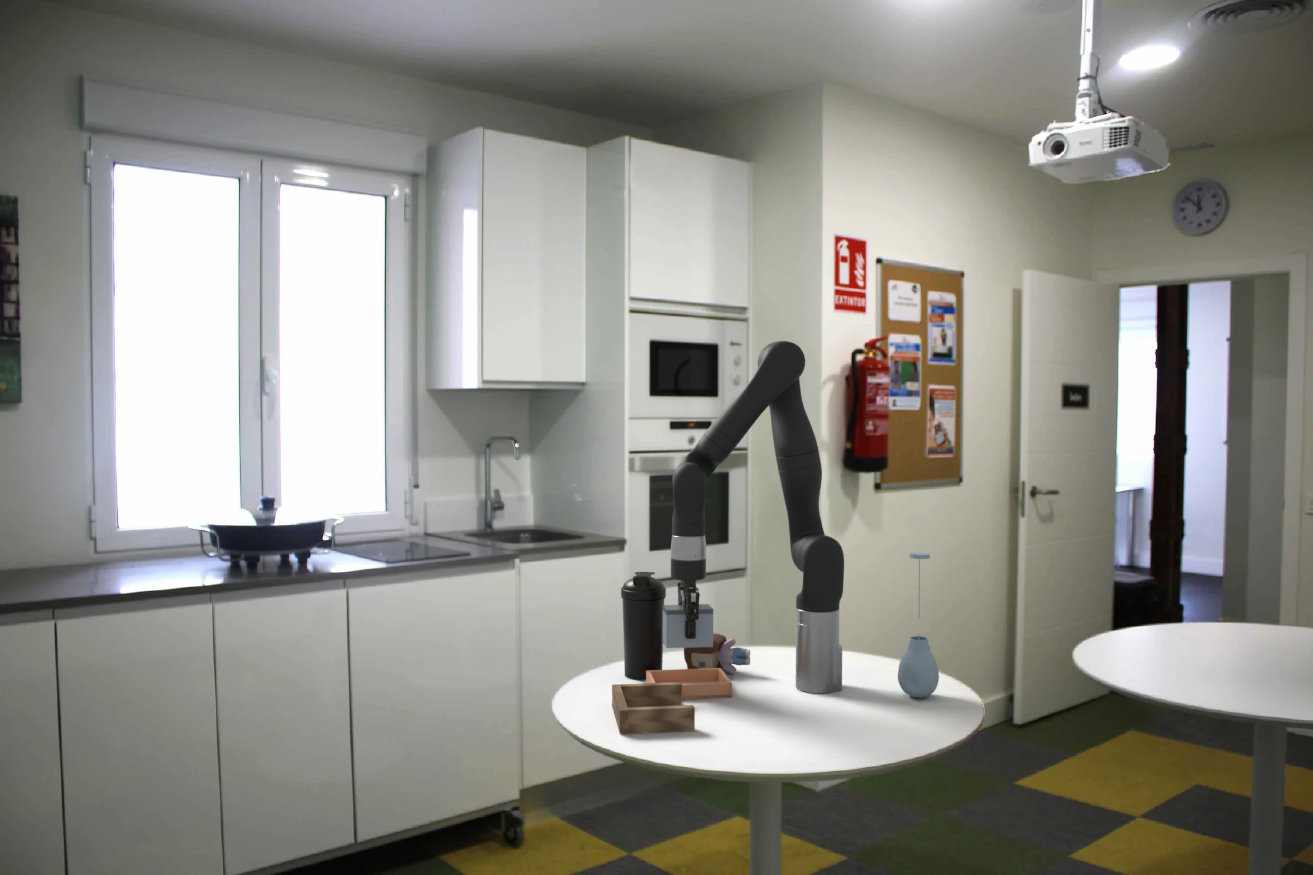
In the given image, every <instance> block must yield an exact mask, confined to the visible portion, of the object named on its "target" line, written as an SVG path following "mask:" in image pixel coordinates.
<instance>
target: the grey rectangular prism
mask: <svg viewBox="0 0 1313 875" xmlns="http://www.w3.org/2000/svg"><path fill="white" fill-rule="evenodd" d="M689 614H694V610H689ZM684 617H685V611H684V610H683V609H682V605H678V604H664V605H663V646H664V647H665V648H666V649H682V648H683V649H684V648H690V647H713V634H714V608H713V607H712V606H711V605H710V604H709V603H702V604H701V603H699V618H698V620H697V621H696V637H695V639H686V638H685V619H684Z"/></svg>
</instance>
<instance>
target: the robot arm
mask: <svg viewBox="0 0 1313 875" xmlns="http://www.w3.org/2000/svg"><path fill="white" fill-rule="evenodd" d="M805 367H806V357H805V354H804V351H803V350H802V348H801V347H800V346H799V345H797V344H796V343H794V342H792V341H787V340H779V341H778V340H777V341H774V342H770V343H768V344H767V345H765V346H764V347H763V348H762V349H761V351H760V353H759V355H758V359H757V370H756V371H755V373H754V374H753V376H752V378H751V379H750V380H749V382H748V383H747V385H746V386H745V387H744V389H742V390H741V392H740V393H739V394H738V395H737V397H736V398H734V400H732V402H730V403H729V404H728V406H727V407H726V408H725V409H724V410H723V411H722V412H721V413H720V414H719V415H718V416H717V417H716V419H715V420H714V421H713V422H712V423H711V425H709V427H708V428H707V430H705V432H703V434H702V436H701V437H700V439H699V441H698V442H697V444H696V445H695V446H694V447H693V448H692V449H691V450H690V451H689V452H688V453H687V454H686V456H685V457H684V458H683V459H682V460H681V461H680V463H679V464H678V465H677V466H676V467H675V469H674V470H673V473H672V495H673V497H672V498H673V510H672V511H673V512H672V519H671V522H672V523H671V524H672V526H671V534H672V535H671V543H670V578H672V579H673V580H675V581H678V582H677V586H676V587H677V605H682V609H683V610H684V611H685V617H684V619H685V638H686V639H695V637H696V621H697V620H698V618H699V604H700V596H701V595H700V594H701V593H700V592H699V591H700V590H699V589H700V588H699V587H697V583H696V582H697V581H701V580H705V578H706V577H707V542H706V541H707V540H706V514H705V507H706V506H705V505H706V492H707V482H708V479H709V478H710V477H711V476H712V475H713V473H714V472H715V470H717V468H718V466H719V465H721V464H722V463H724V461H726V459H727V458H728V457H729V456H730V455H731V454H732V453H733V451H735V449H736V447H737V446H738V445H739V444H740V443H741V441H742V440H743V438H744V437H745V436H746V434H747V433H748V431H749V430H750V429H751V428H752V427H753V426H754V424H755V422H756V421H757V420H758V419H759V418H760V416H761V415H762V414H763V413H764V412H765V411H766V409H767V408H768V407H769V414H770V422H771V431H772V439H773V440H772V441H773V447H774V448H773V449H774V455H775V460H776V465H777V472H778V475H779V479H780V480H779V481H780V486H781V489H782V494H783V500H784V504H785V509H786V514H787V521H788V522H787V523H788V532H789V547H790V556H791V560H792V562H793V564H794V565H795V567H796V568H797V570H799V571H800V572H801V573H802V587H801V591H800V592H799V593H797V595H796V597H795V598H796V599H795V687H796V688H797V690H800V691H802V692H806V693H812V694H828V693H833V692H836V691H837V692H839V691H843V646H842V645H841V644H840V602H841V600H842V597H843V593H844V579H845V578H844V577H845V556H844V554H845V553H844V550H843V548H842V545H841V544H840V542H839V541H838V540H837V539H835V538H834V537H831V536H829V535H826V534H825V530H824V527H823V524H822V518H821V514H820V503H819V502H820V495H821V494H820V493H821V487H822V482H823V481H822V480H823V469H822V467H823V466H822V463H821V458H820V457H821V456H820V450H819V446H818V442H817V439H816V435H815V432H814V429H813V426H812V424H811V421H810V419H809V416H808V414H807V411H806V409H805V406H804V402H803V397H802V391H801V382H800V381H801V380H800V377H801V376H802V374H803V372H804V370H805ZM689 610H694V614H689Z"/></svg>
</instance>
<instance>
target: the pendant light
mask: <svg viewBox="0 0 1313 875" xmlns="http://www.w3.org/2000/svg"><path fill="white" fill-rule="evenodd" d="M909 558H910V559H913V560H914V559H915V560H918V563H919V564H918V618H920V607H921V606H920V603H921V601H920V600H921V595H920V594H921V592H920V591H921V590H920V589H921V588H920V587H921V585H920V584H921V582H920V581H921V560H929V559H930V558H931V557H930V553H928V552H920V551H919V552H916V551H915V552H909ZM939 672H940V671H939V667H938V664H937V661H936V658H935V657H934V655H933V653H932V651H931V647H930V644H929V640H928V638H927V637H926V636H923V635H921V636H920V635H917V636H914V635H913V636H910V637H909V641H908V645H907V648H906V651H904V653H903V655H902V656H901V658H900V661H899V665H898V671H897V681H898V684H899V686H900V688H901V689H902V690H901V691H903V692H904V693H905V695H908V696H910V697H912V698H917V699H921V698H927V697H929V696H931V695H933V693H934V692H935V691H936V690H937V687H938V684H939V681H940V674H939Z"/></svg>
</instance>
